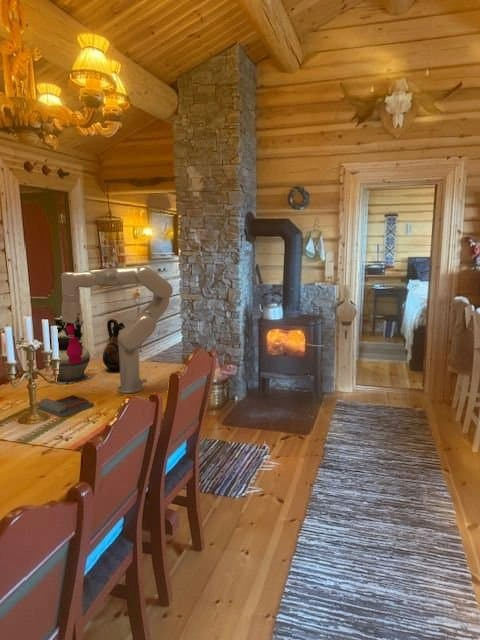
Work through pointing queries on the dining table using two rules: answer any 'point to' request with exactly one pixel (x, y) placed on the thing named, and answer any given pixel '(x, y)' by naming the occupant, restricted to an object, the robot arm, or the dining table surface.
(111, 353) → the ceramic jug
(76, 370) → the decorative urn
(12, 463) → the dining table surface
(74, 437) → the dining table surface
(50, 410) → the dark slab
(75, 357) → the pepper mill
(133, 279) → the robot arm
